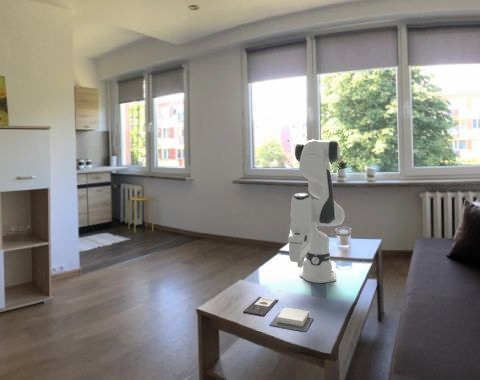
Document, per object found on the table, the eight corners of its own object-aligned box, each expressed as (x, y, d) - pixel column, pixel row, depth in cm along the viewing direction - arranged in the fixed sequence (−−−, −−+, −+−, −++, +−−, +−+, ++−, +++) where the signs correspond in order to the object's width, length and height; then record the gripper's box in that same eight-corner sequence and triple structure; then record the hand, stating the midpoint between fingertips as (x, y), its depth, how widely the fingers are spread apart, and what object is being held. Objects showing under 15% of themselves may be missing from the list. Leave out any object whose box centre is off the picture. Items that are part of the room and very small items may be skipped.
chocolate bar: (243, 311, 155) (259, 296, 172) (243, 313, 156) (259, 298, 172) (263, 315, 152) (278, 299, 168) (263, 317, 152) (278, 301, 168)
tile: (284, 307, 155) (277, 316, 146) (309, 311, 151) (302, 321, 142) (284, 312, 155) (277, 322, 146) (309, 316, 151) (302, 326, 142)
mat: (279, 313, 155) (279, 312, 155) (313, 319, 149) (313, 318, 149) (269, 325, 144) (269, 324, 144) (306, 332, 138) (306, 331, 138)
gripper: (299, 227, 165) (299, 258, 167) (286, 238, 147) (286, 273, 148) (314, 228, 163) (313, 260, 164) (302, 239, 144) (302, 275, 146)
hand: (300, 266), depth 156 cm, fingers closed
